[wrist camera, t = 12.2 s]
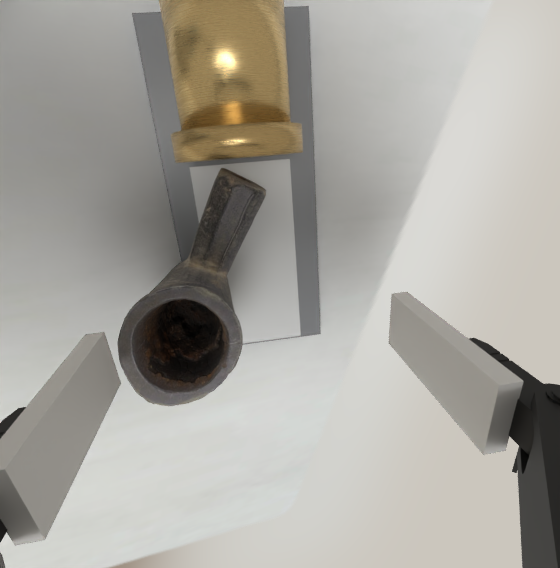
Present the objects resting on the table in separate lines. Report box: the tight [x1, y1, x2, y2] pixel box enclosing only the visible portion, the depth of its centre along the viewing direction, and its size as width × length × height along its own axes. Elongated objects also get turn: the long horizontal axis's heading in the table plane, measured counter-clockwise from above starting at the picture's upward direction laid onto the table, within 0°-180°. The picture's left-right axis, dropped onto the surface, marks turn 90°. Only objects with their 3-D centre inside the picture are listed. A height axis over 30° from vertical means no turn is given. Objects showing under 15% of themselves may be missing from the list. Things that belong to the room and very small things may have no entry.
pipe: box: [118, 168, 266, 406], centre depth 19 cm, size 6×13×8 cm, turn 155°
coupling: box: [159, 0, 303, 163], centre depth 17 cm, size 7×7×7 cm
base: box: [132, 6, 320, 345], centre depth 23 cm, size 22×10×1 cm, turn 4°
